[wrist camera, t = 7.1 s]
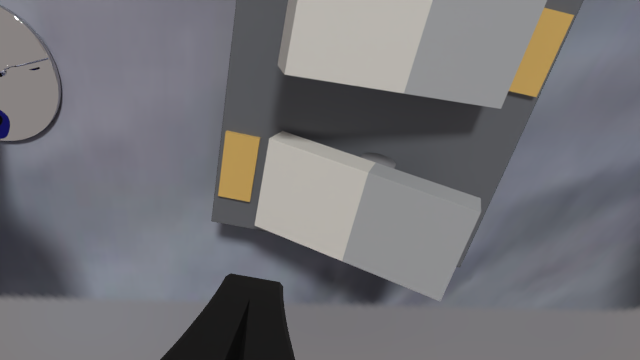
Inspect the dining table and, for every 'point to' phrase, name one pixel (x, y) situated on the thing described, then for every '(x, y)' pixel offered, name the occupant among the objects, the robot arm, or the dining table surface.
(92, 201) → the dining table surface
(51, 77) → the wineglass
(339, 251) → the rocker
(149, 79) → the dining table surface
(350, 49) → the rocker
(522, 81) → the switch unit
